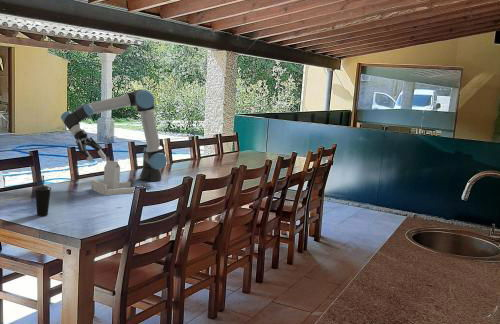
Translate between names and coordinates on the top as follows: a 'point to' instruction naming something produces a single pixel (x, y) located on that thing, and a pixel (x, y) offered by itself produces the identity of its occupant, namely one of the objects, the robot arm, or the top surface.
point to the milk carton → (112, 174)
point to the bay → (103, 189)
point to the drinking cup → (42, 199)
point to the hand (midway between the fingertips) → (98, 159)
